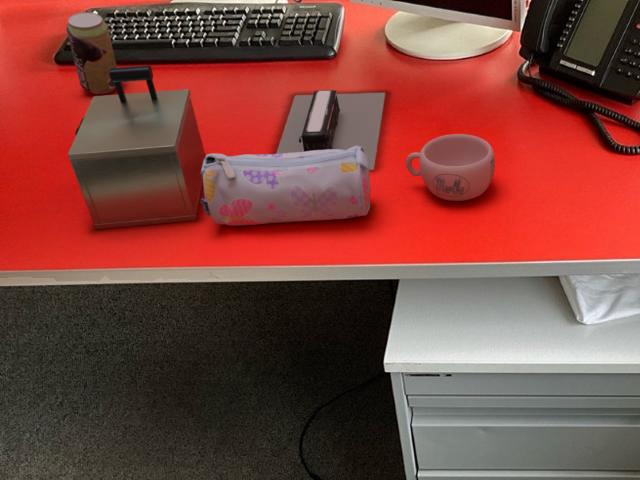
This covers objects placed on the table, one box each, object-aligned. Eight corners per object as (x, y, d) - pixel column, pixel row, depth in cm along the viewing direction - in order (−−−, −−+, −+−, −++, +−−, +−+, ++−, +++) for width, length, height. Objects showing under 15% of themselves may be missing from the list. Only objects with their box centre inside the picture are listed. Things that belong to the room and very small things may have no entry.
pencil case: (207, 237, 113) (189, 169, 106) (221, 201, 119) (204, 135, 113) (373, 231, 113) (364, 164, 107) (377, 196, 120) (369, 130, 113)
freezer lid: (95, 101, 120) (82, 64, 117) (190, 94, 121) (181, 56, 118) (69, 160, 108) (54, 120, 105) (176, 151, 109) (165, 111, 106)
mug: (501, 174, 123) (500, 134, 119) (488, 212, 116) (487, 171, 112) (416, 168, 125) (413, 129, 121) (399, 205, 118) (394, 165, 114)
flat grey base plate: (270, 172, 125) (264, 145, 122) (295, 95, 143) (290, 69, 141) (373, 169, 125) (370, 142, 122) (385, 92, 144) (382, 67, 141)
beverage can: (102, 78, 150) (78, 5, 141) (135, 86, 147) (113, 12, 139) (73, 93, 145) (47, 19, 137) (107, 101, 143) (83, 26, 135)
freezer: (116, 170, 126) (94, 104, 120) (207, 162, 127) (190, 97, 121) (95, 229, 115) (69, 160, 108) (196, 220, 116) (176, 151, 109)
